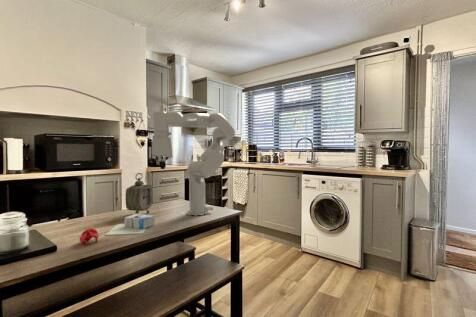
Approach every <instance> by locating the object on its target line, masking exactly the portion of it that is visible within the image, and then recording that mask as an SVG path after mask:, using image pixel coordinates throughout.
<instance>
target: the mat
mask: <svg viewBox="0 0 476 317" xmlns="http://www.w3.org/2000/svg"><path fill="white" fill-rule="evenodd" d="M146 230H147V228H145V229H139V228H131V227H124V223H121V224H120V223H119V224H116V225H114V226H113V228H112V229H110V230H109V231H108V232H107V233H105V236H106V237H107V236H125V235H127V236H128V235H143V234H144V233H145V231H146Z"/></svg>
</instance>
